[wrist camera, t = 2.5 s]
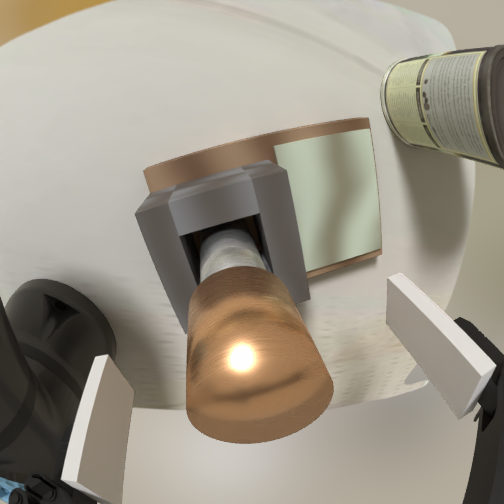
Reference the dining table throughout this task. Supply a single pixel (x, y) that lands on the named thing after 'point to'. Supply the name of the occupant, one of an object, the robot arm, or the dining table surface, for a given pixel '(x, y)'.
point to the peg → (248, 347)
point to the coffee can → (449, 103)
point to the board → (267, 205)
